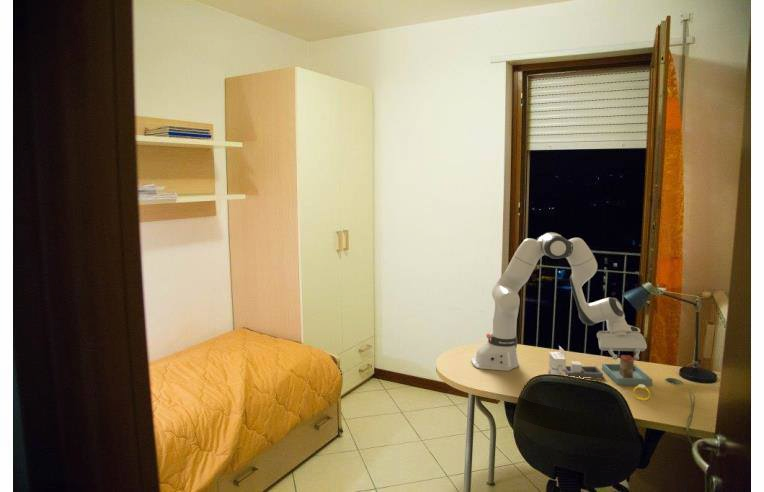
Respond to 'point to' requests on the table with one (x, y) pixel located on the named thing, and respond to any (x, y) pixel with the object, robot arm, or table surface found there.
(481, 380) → the table surface
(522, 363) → the table surface
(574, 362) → the pale grey fuse
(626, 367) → the cylinder
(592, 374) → the fuse rack
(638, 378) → the slate-green tray
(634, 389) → the gold ring
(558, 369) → the ink cartridge box
